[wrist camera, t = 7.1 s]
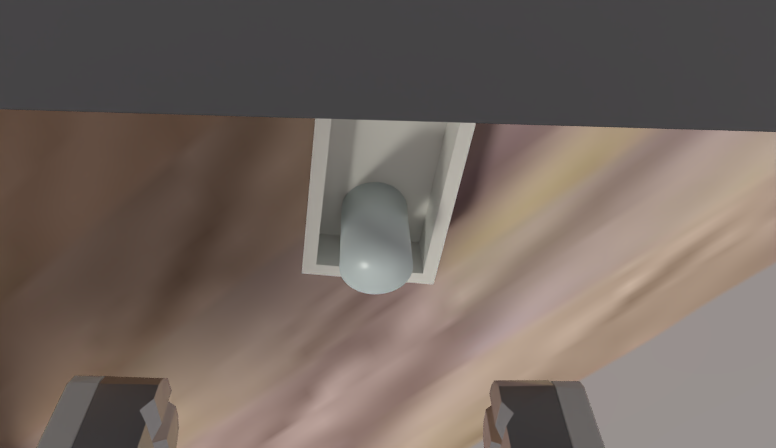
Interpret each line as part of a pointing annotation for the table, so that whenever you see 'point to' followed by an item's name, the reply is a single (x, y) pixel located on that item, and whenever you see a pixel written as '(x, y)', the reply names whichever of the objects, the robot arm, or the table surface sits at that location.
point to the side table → (400, 60)
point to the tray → (395, 163)
